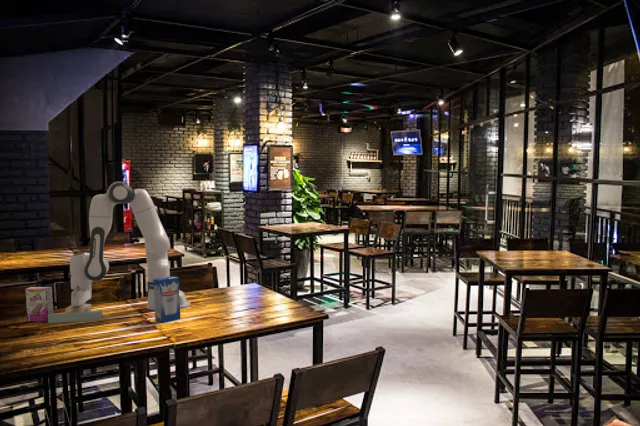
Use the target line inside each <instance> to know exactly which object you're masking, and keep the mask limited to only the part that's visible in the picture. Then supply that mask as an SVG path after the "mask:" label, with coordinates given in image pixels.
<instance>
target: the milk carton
mask: <svg viewBox="0 0 640 426" xmlns="http://www.w3.org/2000/svg"><path fill="white" fill-rule="evenodd" d="M179 281H180V280H179V277H178V276H173V275H171V276H170V277H164V278H158V279H153V283H154V302H155V310H154V319H155V322H158V323H161V324H163V323H169V322H172V321H177V320H181V319H182V318H181V316H182V315H181V308H180V296H179V290H180V282H179Z"/></svg>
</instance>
